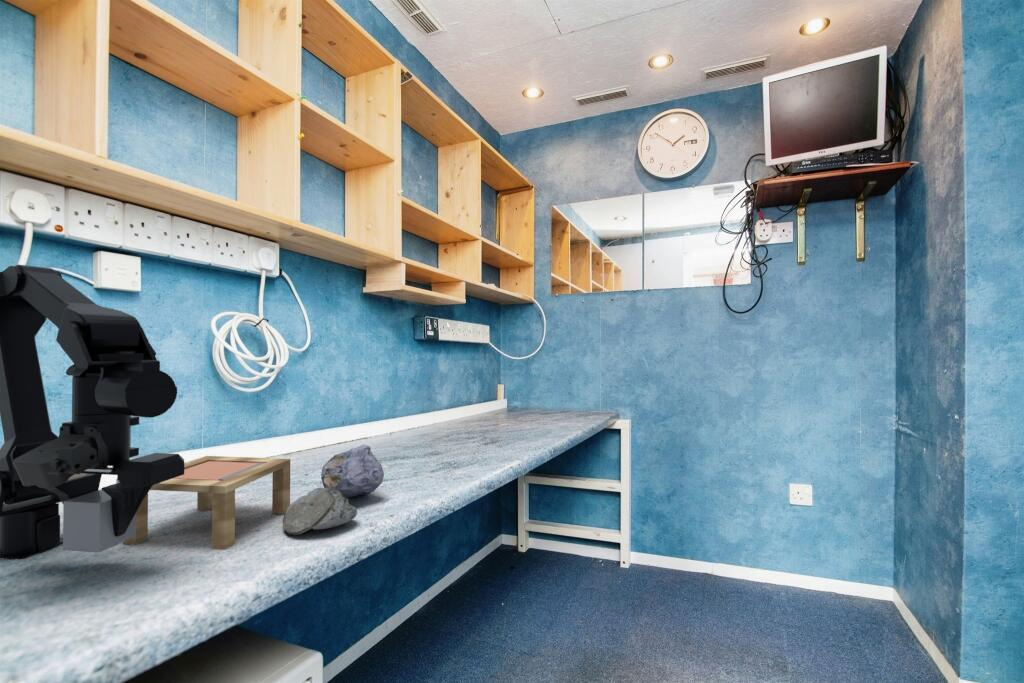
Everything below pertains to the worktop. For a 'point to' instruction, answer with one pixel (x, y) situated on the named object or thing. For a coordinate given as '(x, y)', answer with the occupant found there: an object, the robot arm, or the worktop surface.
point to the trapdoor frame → (222, 496)
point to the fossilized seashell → (318, 511)
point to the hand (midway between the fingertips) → (100, 534)
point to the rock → (353, 472)
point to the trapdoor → (216, 470)
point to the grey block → (91, 523)
